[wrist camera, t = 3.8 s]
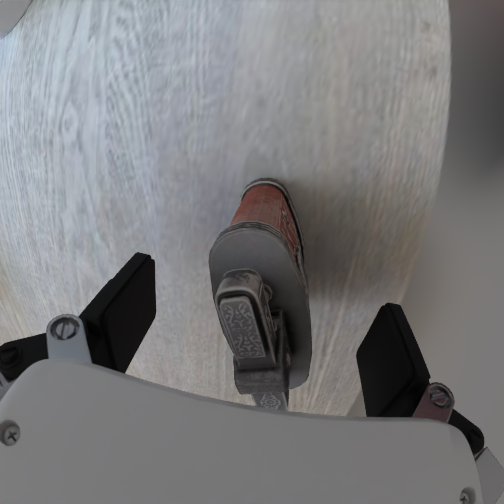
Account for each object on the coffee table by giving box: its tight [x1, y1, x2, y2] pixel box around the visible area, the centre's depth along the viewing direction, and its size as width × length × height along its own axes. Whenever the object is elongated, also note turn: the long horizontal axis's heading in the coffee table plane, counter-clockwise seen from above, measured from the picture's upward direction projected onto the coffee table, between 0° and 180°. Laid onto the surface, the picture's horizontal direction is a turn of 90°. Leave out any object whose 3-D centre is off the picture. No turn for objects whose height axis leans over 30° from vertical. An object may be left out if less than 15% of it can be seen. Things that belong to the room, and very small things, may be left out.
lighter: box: [209, 178, 312, 411], centre depth 13 cm, size 8×3×10 cm, turn 13°
